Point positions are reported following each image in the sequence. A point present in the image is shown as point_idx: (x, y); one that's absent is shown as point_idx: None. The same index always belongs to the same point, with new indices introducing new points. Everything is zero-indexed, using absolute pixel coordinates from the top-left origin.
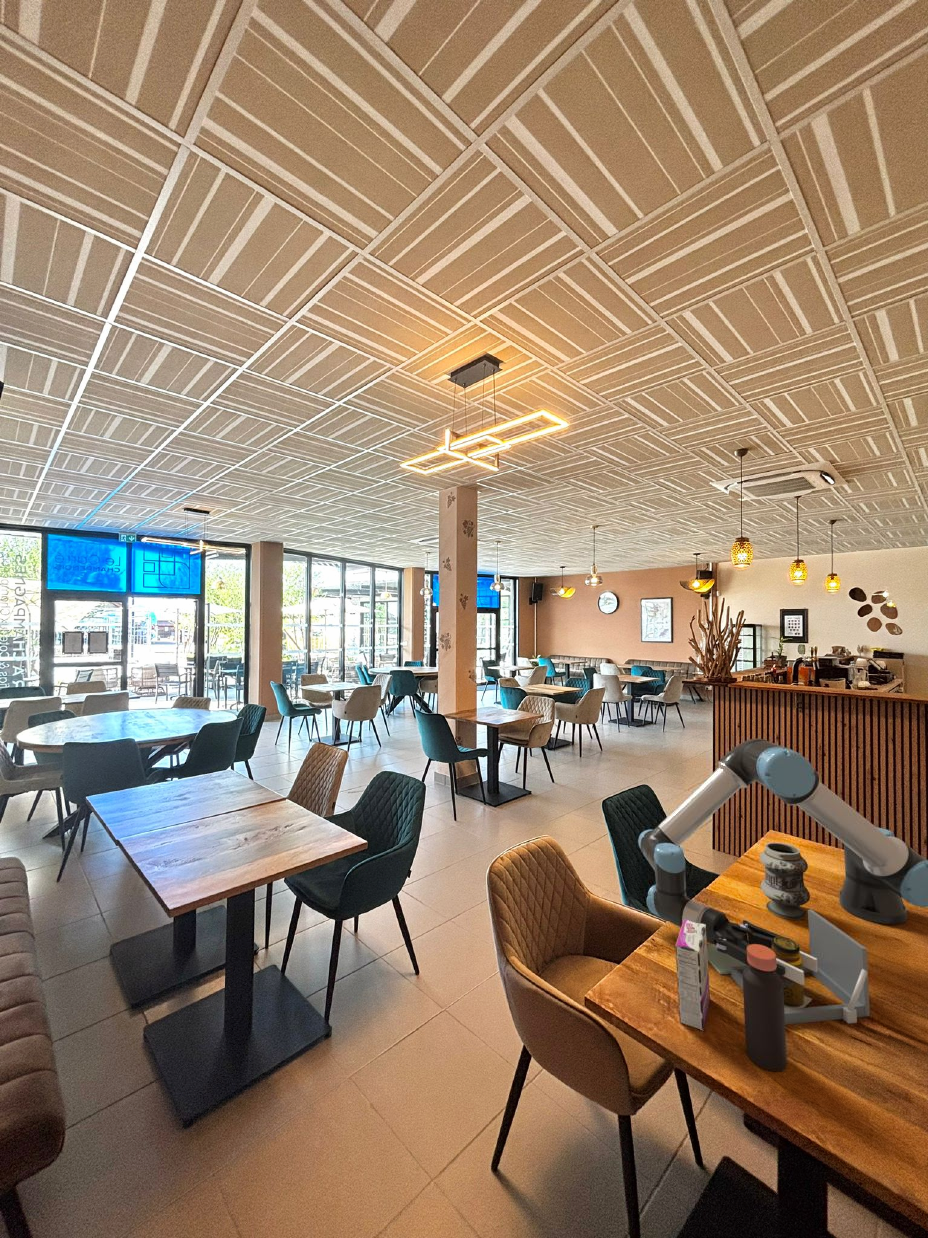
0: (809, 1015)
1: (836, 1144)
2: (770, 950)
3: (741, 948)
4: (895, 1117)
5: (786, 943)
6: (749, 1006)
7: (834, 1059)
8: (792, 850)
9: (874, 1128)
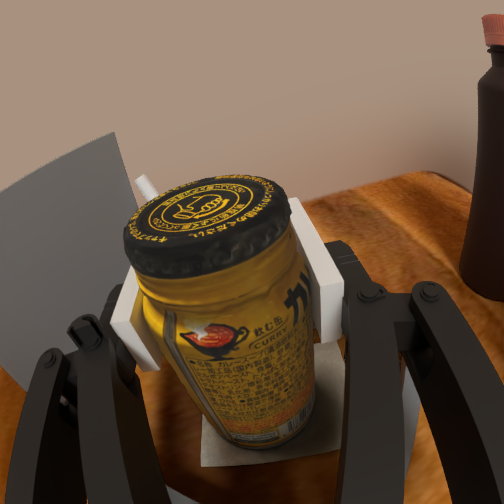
0: None
1: (461, 195)
2: (489, 16)
3: (475, 415)
4: (364, 195)
5: (197, 203)
6: None
7: (360, 249)
8: None
9: (404, 194)
